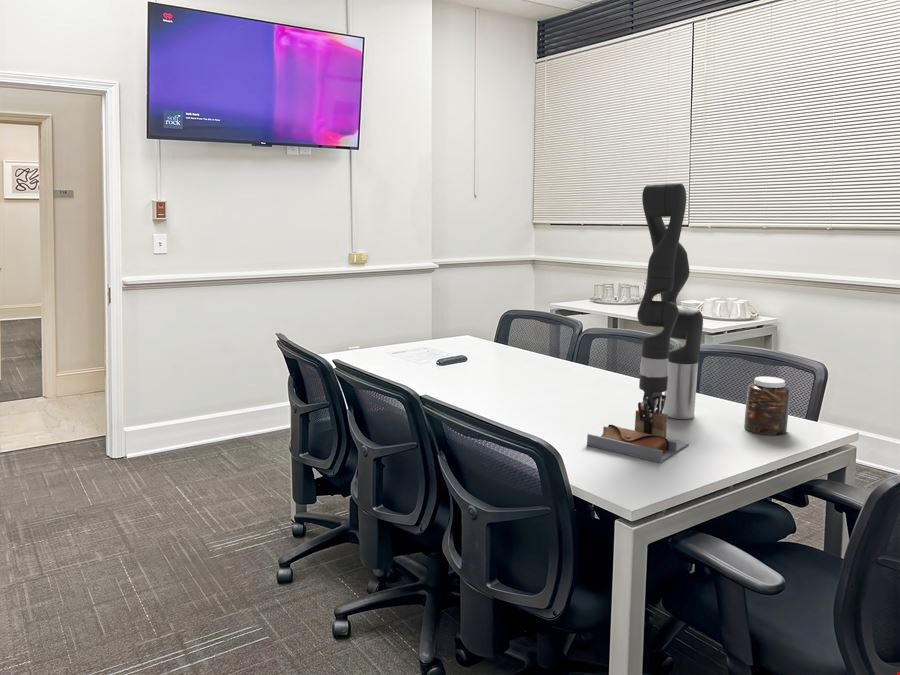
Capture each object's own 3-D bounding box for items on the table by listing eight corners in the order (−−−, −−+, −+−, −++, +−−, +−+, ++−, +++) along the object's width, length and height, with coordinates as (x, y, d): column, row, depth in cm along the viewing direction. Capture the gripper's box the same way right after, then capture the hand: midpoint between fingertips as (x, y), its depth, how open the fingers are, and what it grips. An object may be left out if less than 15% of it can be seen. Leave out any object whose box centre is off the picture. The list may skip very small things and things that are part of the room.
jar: (794, 436, 211) (799, 384, 209) (753, 435, 211) (758, 384, 208) (776, 423, 223) (780, 375, 220) (737, 423, 223) (741, 374, 220)
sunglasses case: (592, 441, 200) (599, 418, 202) (602, 449, 205) (609, 426, 207) (655, 457, 189) (662, 432, 190) (664, 464, 194) (671, 440, 196)
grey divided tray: (617, 429, 215) (619, 404, 213) (688, 444, 202) (690, 418, 200) (586, 445, 201) (588, 418, 199) (660, 462, 188) (662, 434, 186)
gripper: (651, 366, 211) (648, 425, 215) (630, 375, 201) (626, 436, 204) (677, 370, 207) (673, 430, 210) (656, 379, 196) (652, 442, 199)
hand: (650, 433), depth 207 cm, fingers closed on grey divided tray, 3 cm apart
